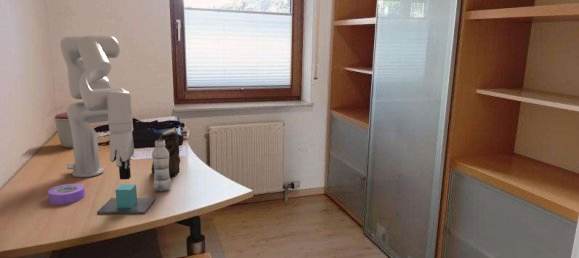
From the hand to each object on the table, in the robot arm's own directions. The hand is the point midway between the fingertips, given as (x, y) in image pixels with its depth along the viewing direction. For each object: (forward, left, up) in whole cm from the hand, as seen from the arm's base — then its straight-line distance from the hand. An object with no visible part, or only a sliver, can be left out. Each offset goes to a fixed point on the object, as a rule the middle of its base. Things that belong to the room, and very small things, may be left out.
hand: (125, 178), depth 139 cm
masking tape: (-25, +8, -11) cm, 29 cm away
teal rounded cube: (0, 0, -10) cm, 10 cm away
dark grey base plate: (0, 0, -11) cm, 11 cm away
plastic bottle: (+8, +16, -11) cm, 21 cm away
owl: (+4, +36, -11) cm, 38 cm away
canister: (-58, +82, -11) cm, 101 cm away
